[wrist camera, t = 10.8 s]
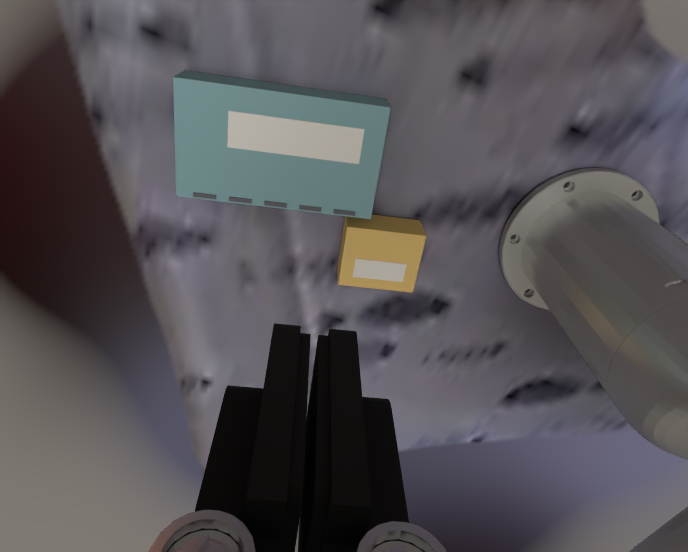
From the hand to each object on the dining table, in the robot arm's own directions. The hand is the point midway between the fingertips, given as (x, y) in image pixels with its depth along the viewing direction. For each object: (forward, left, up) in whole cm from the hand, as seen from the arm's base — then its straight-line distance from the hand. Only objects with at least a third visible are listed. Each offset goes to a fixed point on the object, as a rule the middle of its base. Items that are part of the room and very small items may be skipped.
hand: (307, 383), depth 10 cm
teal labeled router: (+2, +3, -29) cm, 29 cm away
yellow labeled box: (-6, +10, -29) cm, 31 cm away
